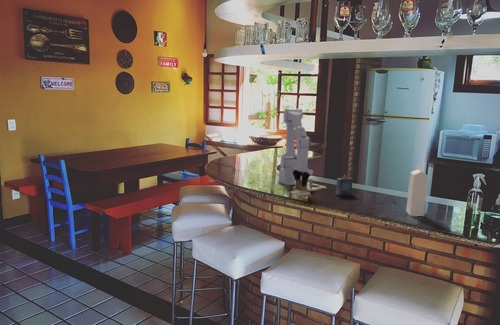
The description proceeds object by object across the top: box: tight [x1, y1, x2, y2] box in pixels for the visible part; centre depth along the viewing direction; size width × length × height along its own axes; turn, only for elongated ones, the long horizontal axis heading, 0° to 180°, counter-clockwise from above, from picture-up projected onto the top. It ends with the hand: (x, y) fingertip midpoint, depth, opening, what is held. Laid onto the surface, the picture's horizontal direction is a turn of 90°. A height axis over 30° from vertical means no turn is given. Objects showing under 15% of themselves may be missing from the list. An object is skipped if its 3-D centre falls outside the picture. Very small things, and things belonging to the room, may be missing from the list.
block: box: [295, 179, 307, 191], centre depth 210 cm, size 4×4×5 cm
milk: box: [405, 165, 429, 217], centre depth 178 cm, size 6×6×22 cm
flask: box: [335, 174, 354, 197], centre depth 211 cm, size 9×3×11 cm, turn 109°
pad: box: [289, 189, 312, 197], centre depth 210 cm, size 8×8×1 cm
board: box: [292, 183, 327, 193], centre depth 222 cm, size 10×16×1 cm, turn 129°
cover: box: [294, 177, 314, 188], centre depth 219 cm, size 8×5×6 cm, turn 39°
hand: (300, 185), depth 210 cm, fingers closed on block, 4 cm apart
